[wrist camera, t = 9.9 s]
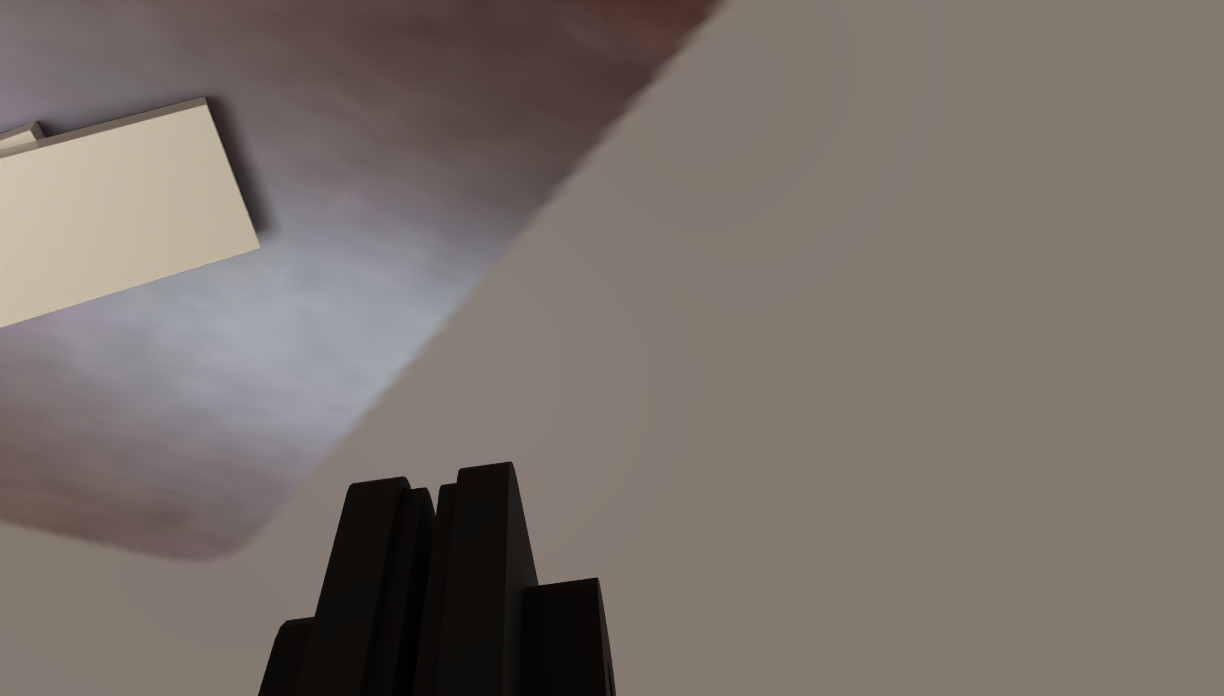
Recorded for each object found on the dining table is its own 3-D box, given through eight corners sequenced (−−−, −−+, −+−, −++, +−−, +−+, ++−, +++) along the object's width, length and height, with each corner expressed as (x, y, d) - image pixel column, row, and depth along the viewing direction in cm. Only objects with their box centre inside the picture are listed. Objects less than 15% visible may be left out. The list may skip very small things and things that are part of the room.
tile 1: (206, 104, 33) (-126, 191, 30) (260, 247, 35) (-43, 340, 33) (204, 96, 34) (-112, 179, 32) (256, 234, 37) (-34, 322, 34)
